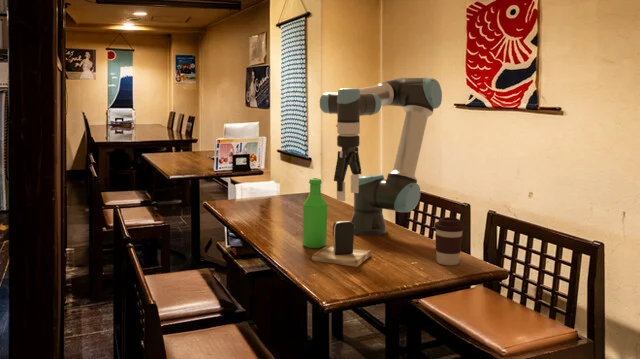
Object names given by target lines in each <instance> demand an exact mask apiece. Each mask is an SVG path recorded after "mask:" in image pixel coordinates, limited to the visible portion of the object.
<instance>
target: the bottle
mask: <svg viewBox="0 0 640 359" xmlns="http://www.w3.org/2000/svg"><path fill="white" fill-rule="evenodd" d="M308 183H309V194H308V196H307V197H306V199H305V200H304V202H303V204H302V245H303V246H304V247H305V248H309V249H322V248H324V247H326V246H327V239H328V238H327V230H328V229H327V227H328V203H327V201H326V200H325V198H324V197H323V195H322V194H321V193H322V190H321V189H322V186H321V185H322V179H321V178H319V177H313V178H309V182H308Z"/></svg>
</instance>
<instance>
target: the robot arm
mask: <svg viewBox="0 0 640 359" xmlns="http://www.w3.org/2000/svg"><path fill="white" fill-rule="evenodd" d="M442 99H443V91H442V87H441V85H440V82H439V81H438V80H437V79H435V78H432V77H431V78H429V77H399V78H393V79H390V80H386V81H381V82H379V83H377V84H376V85H373V86H367V87H361V88H358V87H357V88H344V87H343V88H339V89H338V90H337V92H330V91H329V92H324V93H323V94H321V96H320V98H319V108H320V111H322V112H323V113H324V114H330V115H333V114H334V115H336V114H337V115H336V116H337V119H336V120H337V122H336V125H335V127H336V128H337V129H336V130H337V132H336V134H338V135H337V136H336V141H337V142H336V145H337V147H339V148H341V151H340V150H338V151H337V159H336V164H335V169H334V170H335V171H334V176H333V182H336V201H339V202H345V201H346V181H345V178H346V174H347V171H348V167H349V168H350V171H351V174H350V193H351V194H353V212H352V216H351V219H350V221H351V222H352V223H353V224H354V235H359V236H365V237H366V236H369V237H371V236H372V237H373V236H382V235H384V234H387V224H386V220H385V217H384V213H383V210H389V211H394V212H398V213H410V212H412V211H413V210H414V209H415V208H416V207H417V206H418V203H419V201H420V199H421V187H420V185H419V184H418V179H417V177H416V175H415V174H416V170H417V165H418V162H419V156H420V153H421V148H422V144H423V140H424V137H425V136H424V135H425V131H426V126H427V121H428V118H429V117H430V116H432V115H433V114H434V109H435V110H436V109H438V108H439V107H440V106H441V104H442V101H443V100H442ZM386 106H390V107H391V106H392V107H393V106H394V107H401V108H402V107H403V110H404V112H405V117H404V121H403V126H402V130H401V134H400V138H399V143H398V146H397V151H396V154H395V155H396V156H395V158H394V159H395V161H394V164H393V168H392V171H390V172H388V174H387V176H386V179H385V176H384V175H383V174H379V173H378V174H365V175H362V168H361V160H360V155H359V147H360V135H359V134H360V133H361V132H360V131H361V129H360V128H361V127H360V126H361V125H360V124H361V123H360V122H361V121H360V117H363V116H372V115H375V114H378V113H379V112H380V110H381V108H382V107H386Z"/></svg>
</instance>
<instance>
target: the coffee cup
mask: <svg viewBox="0 0 640 359" xmlns="http://www.w3.org/2000/svg"><path fill="white" fill-rule="evenodd" d="M433 224H434V225H433V227H434V229H435V234H434V235H435V236H434V237H435V251H436V252H435V253H436V262H437V264H439V265H442V266H446V267H447V266H451V267H452V266H456V265H458V264H459V262H460V255H461V252H462V245H463V232H464V231H465V228H466V225H465V224H464V223H463V222H462V221H461V219H459V218H456V217H447V216H446V217H445V216H444V217H441V218H439V219H438V220H437V221H434V223H433Z"/></svg>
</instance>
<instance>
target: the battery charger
mask: <svg viewBox="0 0 640 359" xmlns="http://www.w3.org/2000/svg"><path fill="white" fill-rule="evenodd" d="M332 237H333V247H334V254H335V255H344V254H352V253H353V249H354V241H355V240H354V238H355V234H354V224H353V223H352V222H351V220H337V221H334V223H333V224H332Z"/></svg>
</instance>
